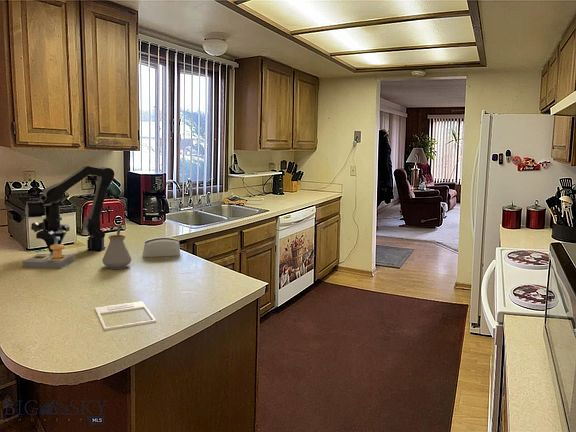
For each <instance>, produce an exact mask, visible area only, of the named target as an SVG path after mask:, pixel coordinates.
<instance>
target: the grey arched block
mask: <svg viewBox="0 0 576 432" xmlns="http://www.w3.org/2000/svg"><path fill="white" fill-rule="evenodd" d="M180 248H181V246H180V240H179V239H178V238H175V237H170V236H159V237H158V236H157V237H153V238H149V239H146V240H145V241H144V244H143V251H142V257H143V258H150V257H151V258H153V257H165V256H166V257H168V256H169V257H170V256H171V257H172V256H180V255H181V249H180Z"/></svg>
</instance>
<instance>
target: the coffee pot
mask: <svg viewBox="0 0 576 432" xmlns="http://www.w3.org/2000/svg"><path fill="white" fill-rule="evenodd" d="M122 227H123V225H121V224H118V225H117V230H116V234H112V235H108V239H109V244H108V245H107V249H106V250H105V252H104V255H103V257H102V261H101V262H102V264H103V265H104V266H105V267H107V268H108V269H112V270H118V269H119V270H120V269H125V268H127V266H129V264H131V262H132V260H133V259H132V257H131V255H130V253H129V251H128V248H127V247H126V243H124V240H125V239H126V236H125V235H122V234H120V233H121V229H122Z"/></svg>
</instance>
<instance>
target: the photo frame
mask: <svg viewBox="0 0 576 432" xmlns="http://www.w3.org/2000/svg"><path fill="white" fill-rule="evenodd" d="M140 309H141V310H142V309H144V311H145V312H146V313H147V315H148V316H149V317H150V319H149V320H144V321H137V322H131V323H125V324H119V325H112V326H106V324H105V321H104V319H103V316H102V315H107V314H113V313H119V312H127V311H133V310H140ZM94 311H95V313H96V315H97V317H98V319H99V321H100V324H101V326H102V328H103V330H104V331H107V330H108V331H109V330H113V329H120V328H121V329H122V328H126V327H132V326H138V325H145V324H151V323H156V322H157V319H156V318H155V316H154V315H153V314H152V313H151V310H150V309H148V307H147V306H146V304H145V303H144V302H143V300H140V301H134V302H127V303H117V304H113V305H105V306H98V307H97V306H96V307H94Z"/></svg>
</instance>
